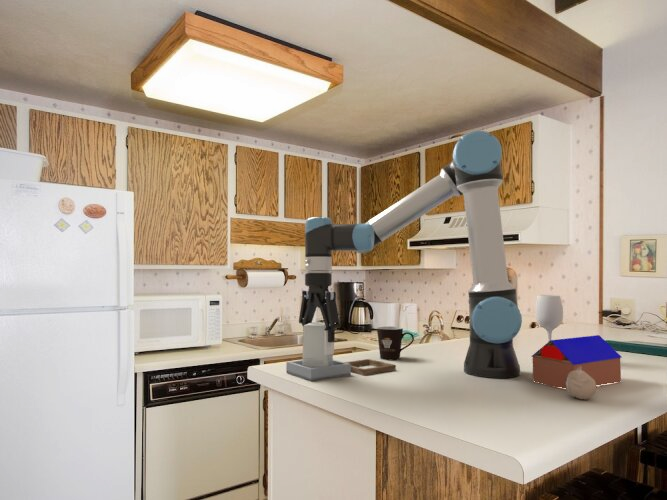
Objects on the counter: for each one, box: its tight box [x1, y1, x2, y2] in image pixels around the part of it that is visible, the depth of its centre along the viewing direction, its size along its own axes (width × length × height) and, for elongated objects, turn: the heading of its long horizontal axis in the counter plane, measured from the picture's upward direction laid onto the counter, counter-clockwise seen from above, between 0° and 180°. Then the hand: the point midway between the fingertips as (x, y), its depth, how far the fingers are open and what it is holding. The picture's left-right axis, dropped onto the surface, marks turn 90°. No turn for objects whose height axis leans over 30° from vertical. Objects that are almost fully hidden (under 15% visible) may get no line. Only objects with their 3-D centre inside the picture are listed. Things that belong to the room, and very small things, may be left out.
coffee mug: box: [376, 325, 415, 361], centre depth 155 cm, size 12×9×10 cm
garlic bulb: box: [565, 365, 597, 400], centre depth 106 cm, size 7×6×8 cm
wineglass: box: [534, 294, 564, 343], centre depth 151 cm, size 9×9×21 cm
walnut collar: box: [344, 358, 397, 376], centre depth 138 cm, size 12×12×2 cm
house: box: [530, 334, 623, 389], centre depth 122 cm, size 12×20×12 cm, turn 119°
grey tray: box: [285, 359, 352, 382], centre depth 132 cm, size 13×13×3 cm
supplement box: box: [301, 322, 334, 368], centre depth 132 cm, size 7×7×13 cm
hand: (318, 351), depth 132 cm, fingers closed on supplement box, 10 cm apart
